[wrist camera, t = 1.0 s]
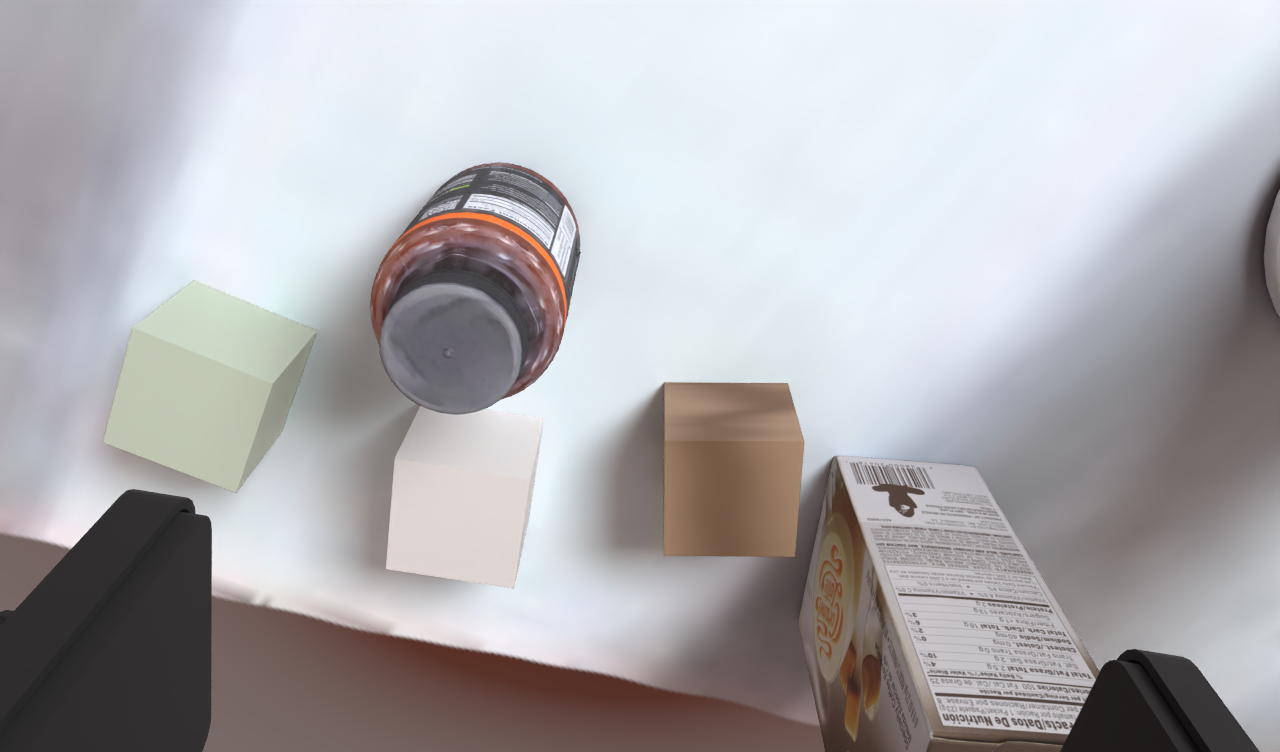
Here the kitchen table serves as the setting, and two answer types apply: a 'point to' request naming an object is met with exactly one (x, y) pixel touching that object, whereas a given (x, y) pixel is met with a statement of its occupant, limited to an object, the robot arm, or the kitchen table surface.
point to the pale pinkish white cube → (463, 495)
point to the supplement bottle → (477, 289)
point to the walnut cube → (731, 469)
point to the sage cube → (208, 384)
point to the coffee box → (933, 619)
